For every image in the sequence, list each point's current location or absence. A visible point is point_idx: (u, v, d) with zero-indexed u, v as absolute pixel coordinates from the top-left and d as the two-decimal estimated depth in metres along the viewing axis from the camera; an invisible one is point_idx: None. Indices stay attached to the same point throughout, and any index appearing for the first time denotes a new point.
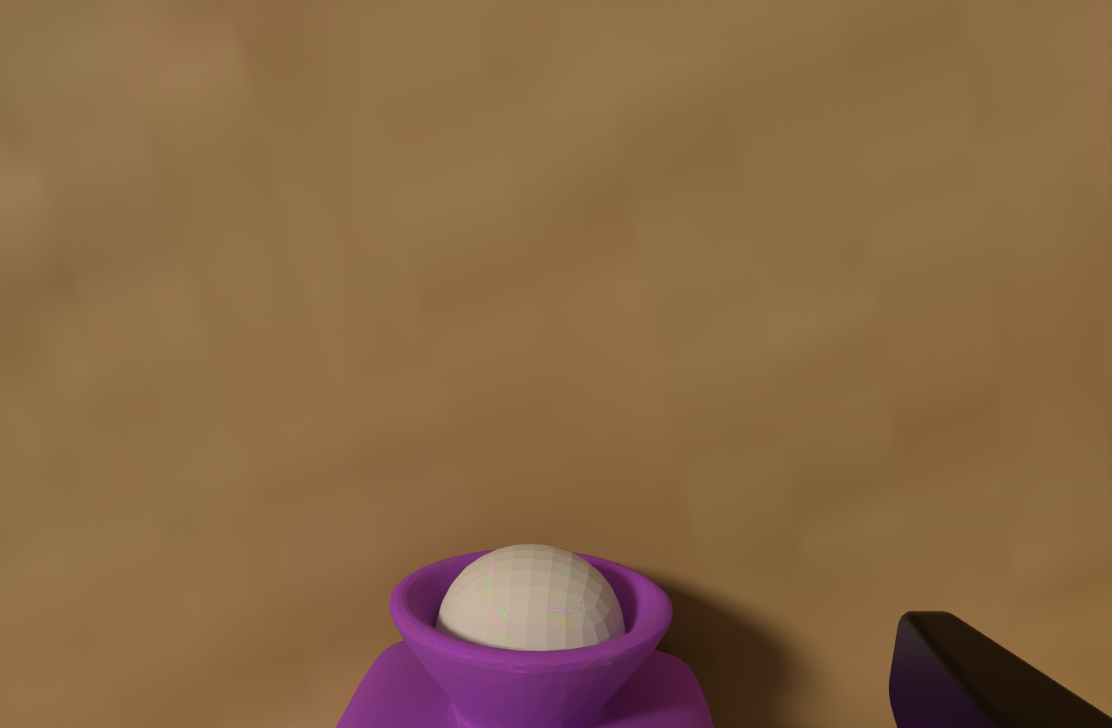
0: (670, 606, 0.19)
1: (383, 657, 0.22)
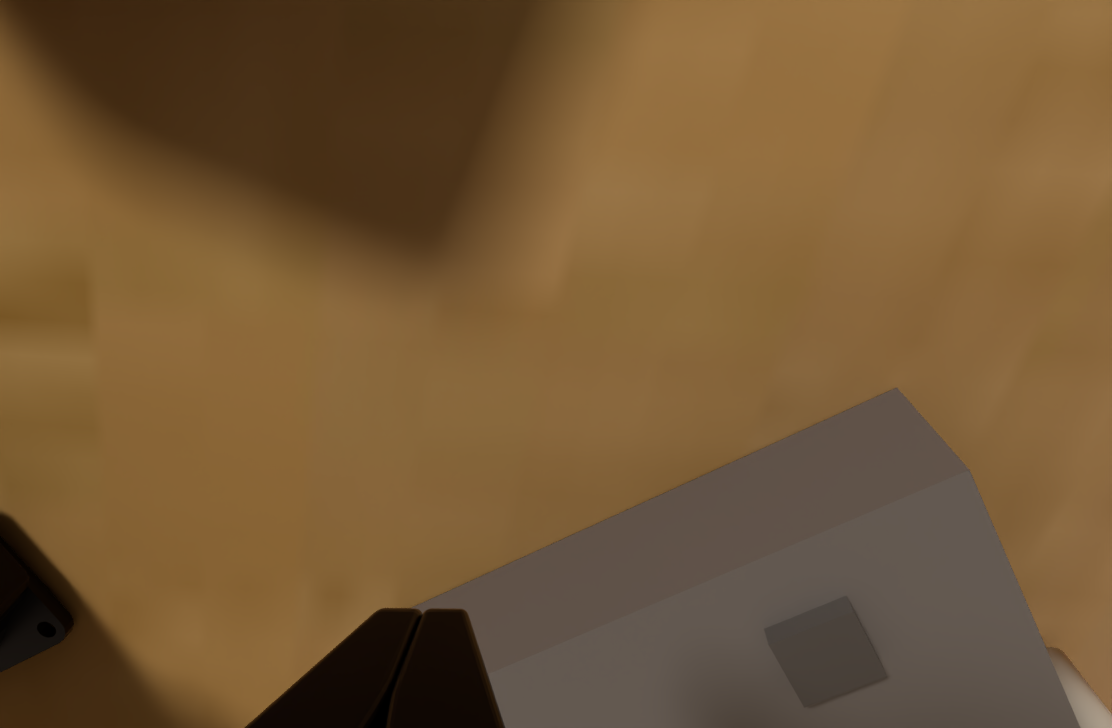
0: None
1: None
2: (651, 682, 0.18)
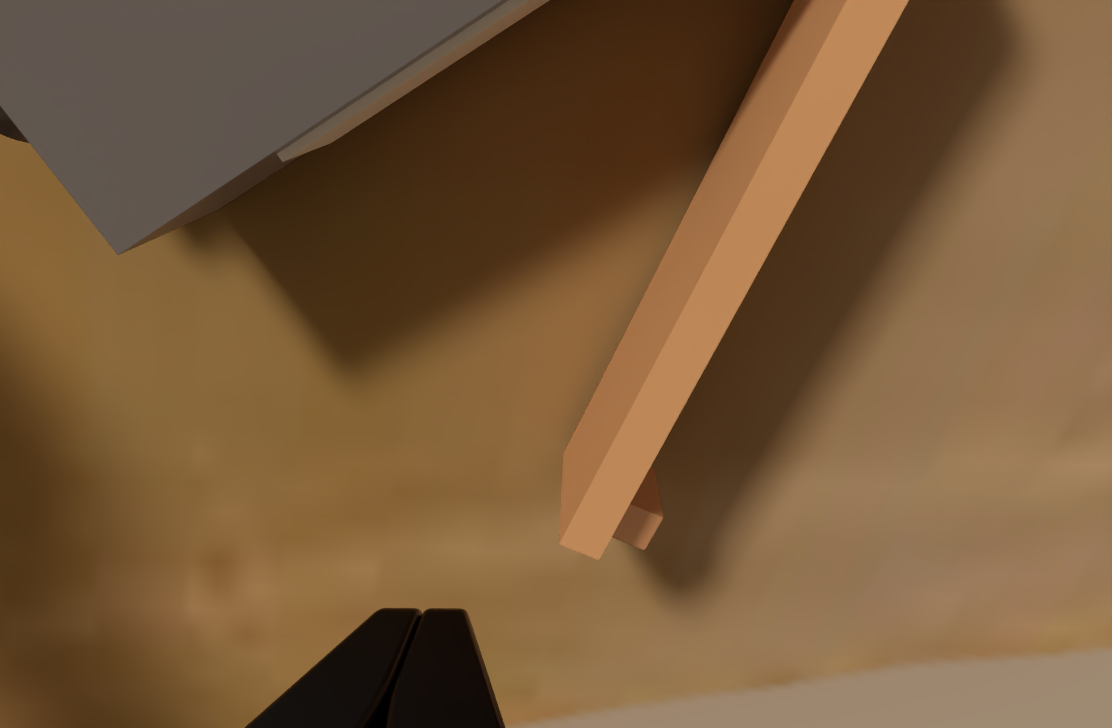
0: None
1: None
2: None
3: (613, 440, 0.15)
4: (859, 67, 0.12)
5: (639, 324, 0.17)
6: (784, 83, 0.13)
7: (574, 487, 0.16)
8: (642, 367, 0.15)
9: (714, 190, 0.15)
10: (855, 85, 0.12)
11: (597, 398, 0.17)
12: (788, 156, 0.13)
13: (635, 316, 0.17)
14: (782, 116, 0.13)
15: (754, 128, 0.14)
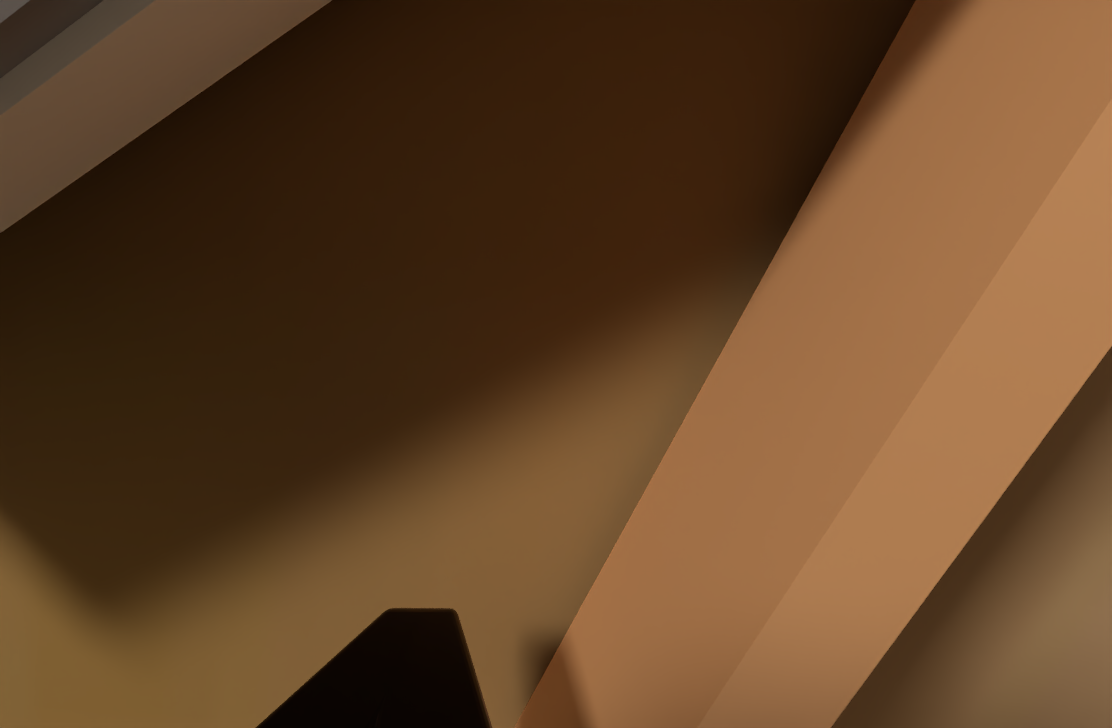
0: None
1: None
2: None
3: None
4: None
5: (625, 586, 0.08)
6: (982, 128, 0.05)
7: None
8: None
9: (783, 351, 0.07)
10: None
11: (549, 696, 0.09)
12: (1021, 338, 0.05)
13: (618, 550, 0.09)
14: (1007, 228, 0.05)
15: (888, 230, 0.06)
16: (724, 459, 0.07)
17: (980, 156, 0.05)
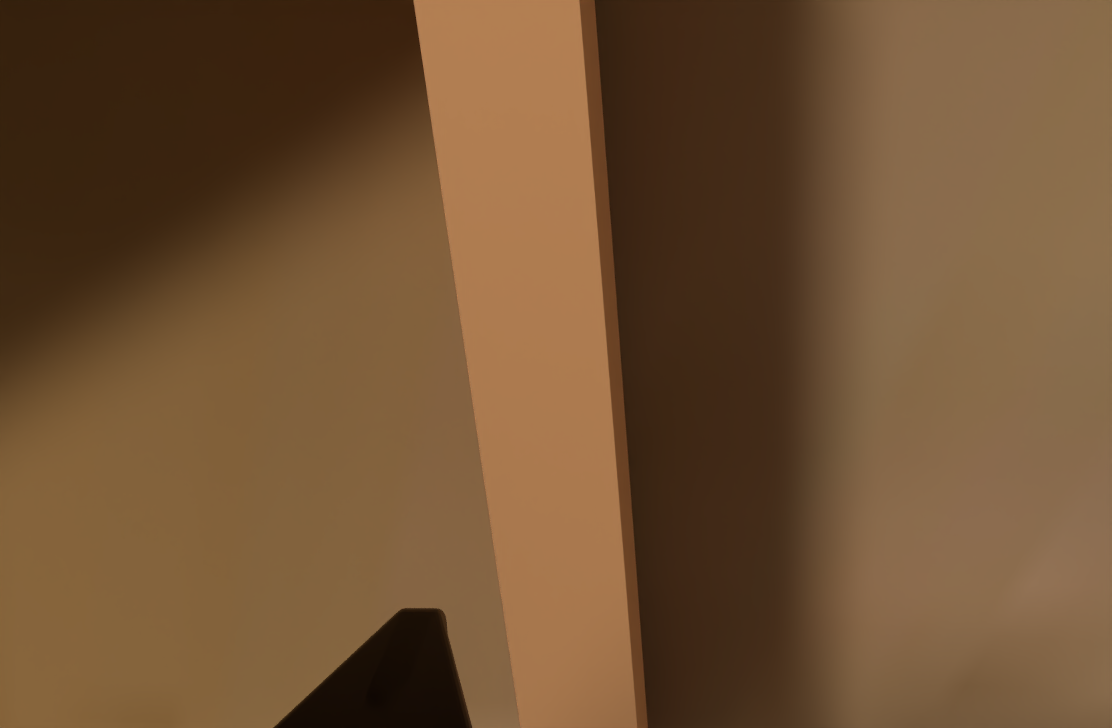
0: None
1: None
2: None
3: None
4: (547, 46, 0.04)
5: None
6: None
7: None
8: None
9: None
10: (568, 96, 0.04)
11: None
12: (522, 343, 0.05)
13: None
14: None
15: None
16: None
17: None
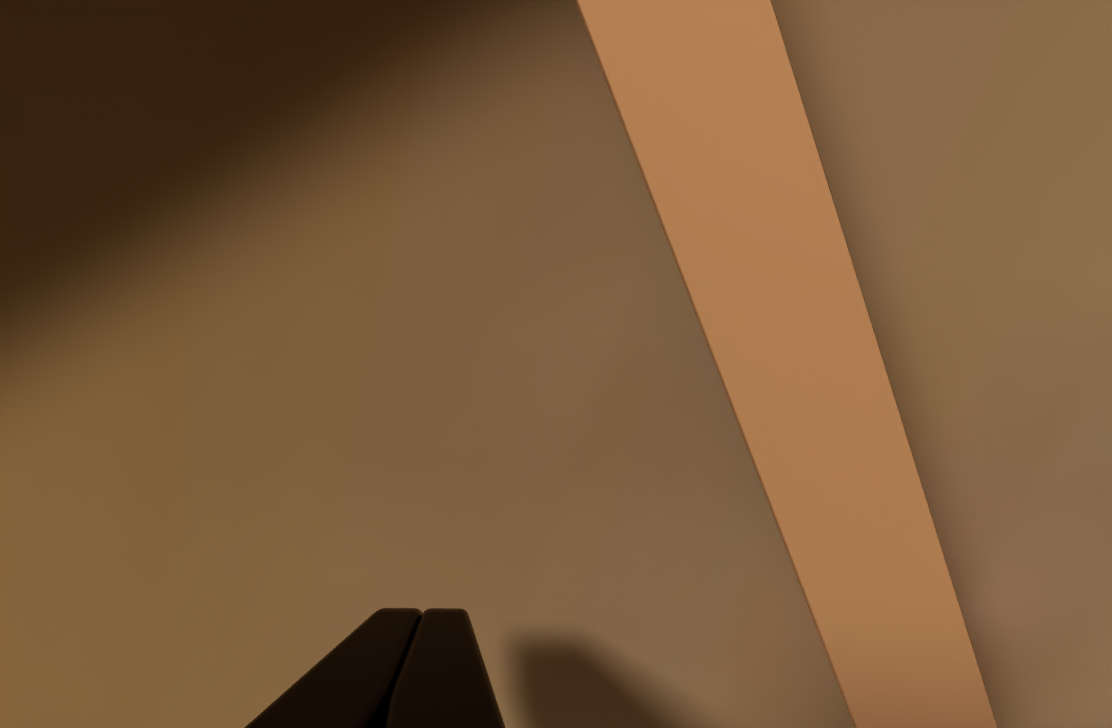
0: None
1: None
2: None
3: None
4: None
5: None
6: (622, 121, 0.05)
7: None
8: None
9: (712, 357, 0.07)
10: (751, 6, 0.04)
11: None
12: (760, 292, 0.04)
13: None
14: (663, 225, 0.04)
15: (663, 229, 0.06)
16: (756, 471, 0.07)
17: (634, 149, 0.05)
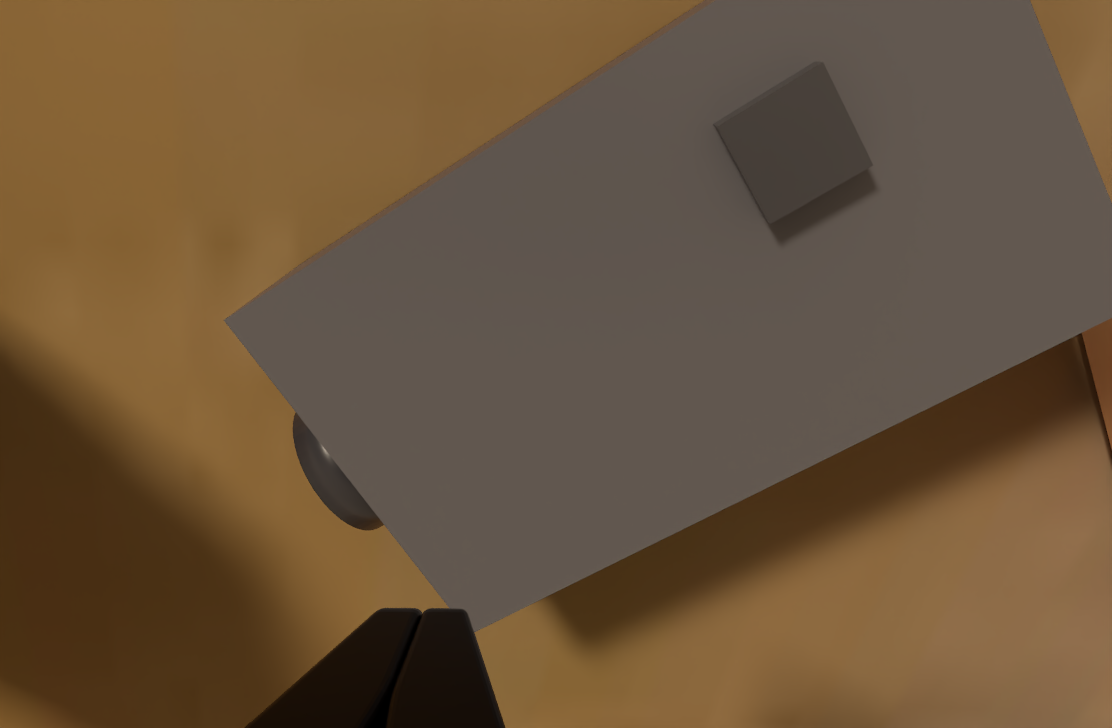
0: None
1: None
2: (577, 221, 0.14)
3: None
4: None
5: None
6: None
7: None
8: None
9: None
10: None
11: None
12: None
13: None
14: None
15: None
16: None
17: None
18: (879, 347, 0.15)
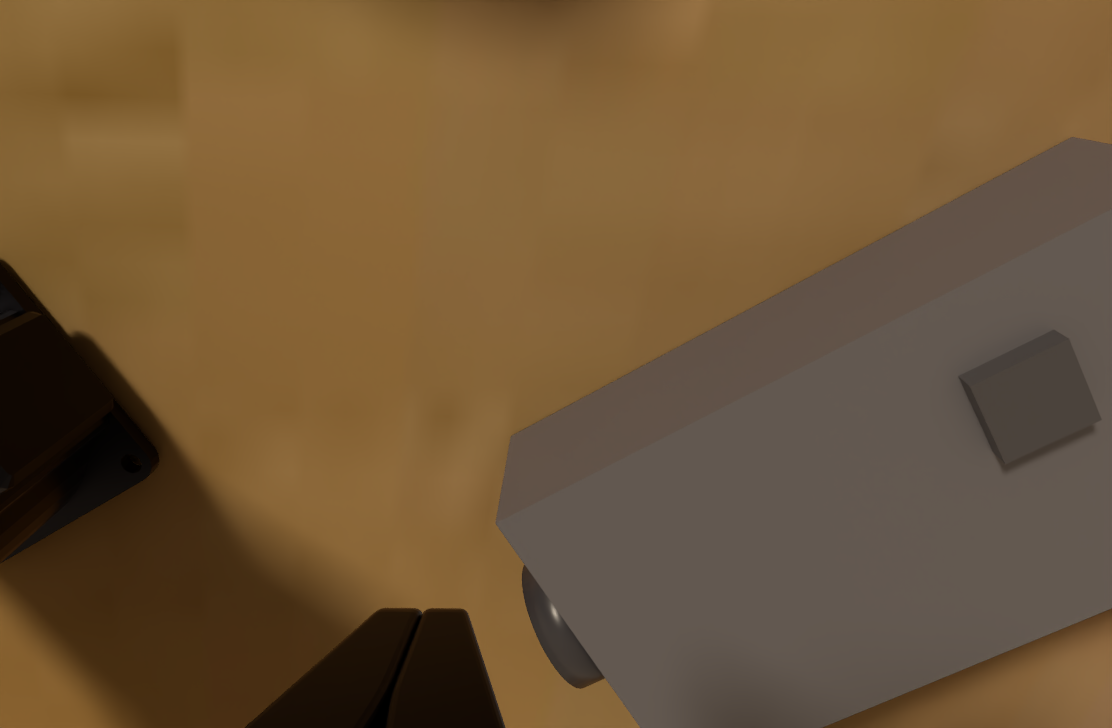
0: None
1: None
2: (827, 450, 0.16)
3: None
4: None
5: None
6: None
7: None
8: None
9: None
10: None
11: None
12: None
13: None
14: None
15: None
16: None
17: None
18: (1080, 556, 0.17)
